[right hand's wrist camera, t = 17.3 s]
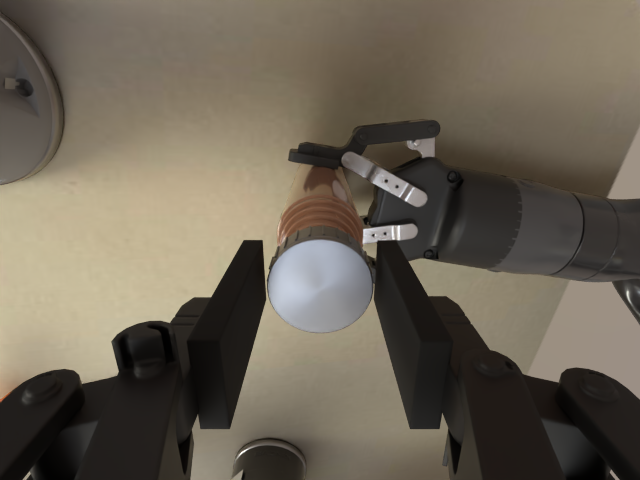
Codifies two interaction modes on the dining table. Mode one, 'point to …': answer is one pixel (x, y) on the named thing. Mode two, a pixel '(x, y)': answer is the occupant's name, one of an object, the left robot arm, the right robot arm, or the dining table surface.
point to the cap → (320, 280)
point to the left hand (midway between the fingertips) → (286, 187)
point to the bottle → (319, 203)
